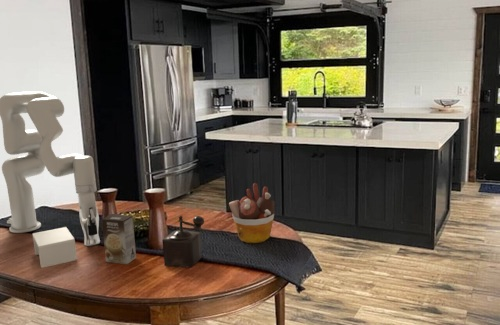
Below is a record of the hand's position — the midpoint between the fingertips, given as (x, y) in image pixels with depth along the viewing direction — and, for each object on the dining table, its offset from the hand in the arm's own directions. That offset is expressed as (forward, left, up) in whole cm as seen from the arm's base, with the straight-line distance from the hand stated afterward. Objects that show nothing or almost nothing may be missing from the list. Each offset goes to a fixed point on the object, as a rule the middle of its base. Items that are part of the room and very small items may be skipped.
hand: (90, 231), depth 191 cm
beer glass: (0, 0, -5) cm, 5 cm away
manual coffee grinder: (+46, -8, -5) cm, 47 cm away
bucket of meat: (+61, +19, -5) cm, 64 cm away
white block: (-5, -15, -5) cm, 16 cm away
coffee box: (+21, -12, -5) cm, 25 cm away
